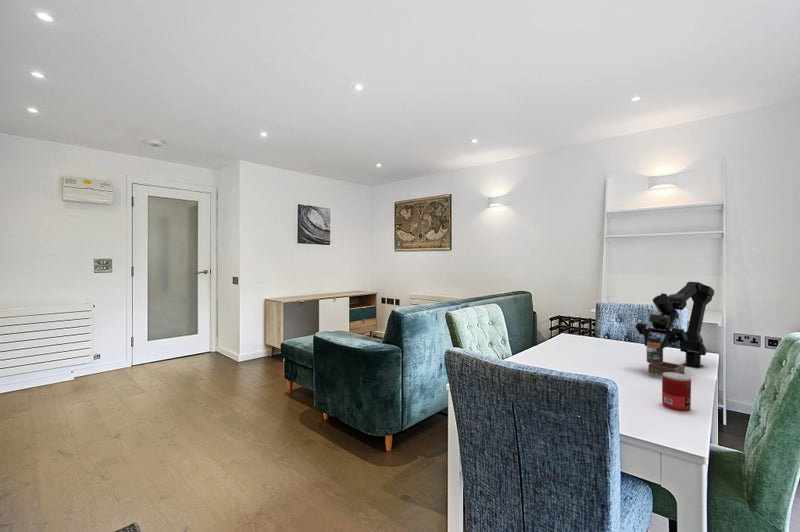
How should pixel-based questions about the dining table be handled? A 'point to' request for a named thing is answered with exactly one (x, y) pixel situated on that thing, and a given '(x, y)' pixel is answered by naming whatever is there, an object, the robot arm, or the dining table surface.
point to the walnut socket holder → (666, 368)
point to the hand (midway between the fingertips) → (652, 347)
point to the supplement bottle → (654, 351)
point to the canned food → (676, 391)
